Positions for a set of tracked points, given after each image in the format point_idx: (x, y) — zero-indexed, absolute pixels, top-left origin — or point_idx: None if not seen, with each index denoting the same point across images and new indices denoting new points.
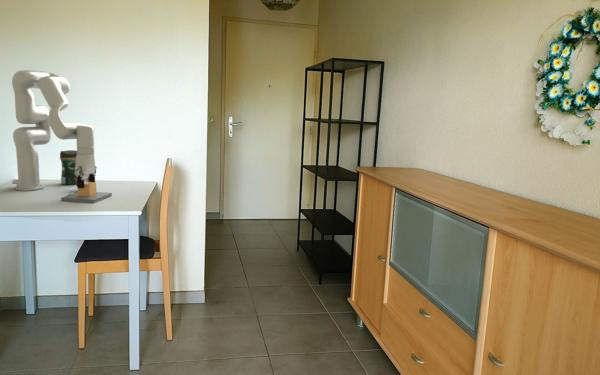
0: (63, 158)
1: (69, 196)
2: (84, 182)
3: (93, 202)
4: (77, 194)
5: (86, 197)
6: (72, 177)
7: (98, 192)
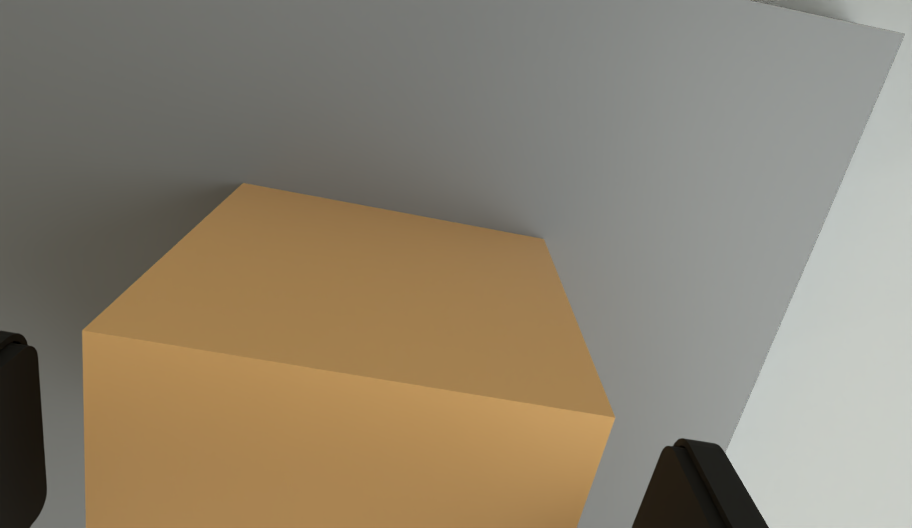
0: None
1: (116, 5)
2: (395, 482)
3: None
4: (402, 113)
5: None
6: None
7: None
